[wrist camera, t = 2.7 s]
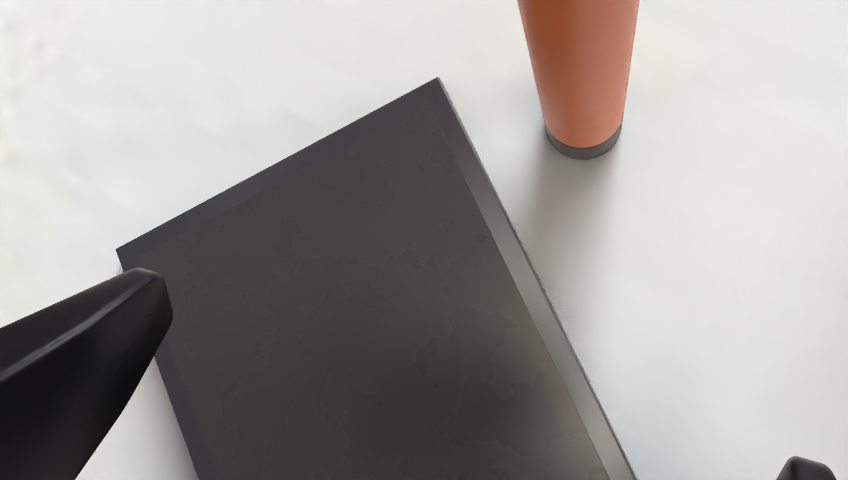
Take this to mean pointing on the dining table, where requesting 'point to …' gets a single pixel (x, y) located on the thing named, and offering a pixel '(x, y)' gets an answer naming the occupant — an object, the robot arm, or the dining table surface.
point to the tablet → (371, 319)
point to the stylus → (581, 69)
